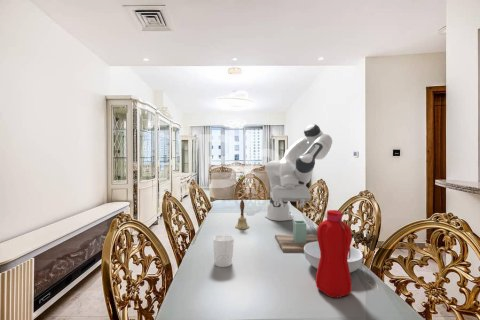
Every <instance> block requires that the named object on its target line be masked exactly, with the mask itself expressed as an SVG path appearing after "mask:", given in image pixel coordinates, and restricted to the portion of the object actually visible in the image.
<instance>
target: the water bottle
mask: <svg viewBox="0 0 480 320" xmlns="http://www.w3.org/2000/svg"><path fill="white" fill-rule="evenodd" d="M342 218H343V213H342V211H341V210H337V209H328V210H327V211H326V219H325V220H324V221H321V222H320V223H319V225H318V226H317V229H316V237H317V239H318V243H319V248H320V261H319V265H318V269H317V268H316V269H317V270H316V274H315V275H316V276H315V286H316V287H317V289H318V290H319V291H321V292H322V293H323V294H325V295H327V296H328V297H330V298H341V297H343V296H348V295H350V293H351V292H352V276H351V273H350V271H349V266H348V261H347V259H349V258H350V246H352V240H353V236H352V235H353V234H352V230H351V227H350V226H349V225H348V224H347V223H346V222H344V221H343V219H342ZM348 253H349V258H348Z"/></svg>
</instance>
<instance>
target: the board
mask: <svg viewBox="0 0 480 320" xmlns="http://www.w3.org/2000/svg"><path fill="white" fill-rule="evenodd" d="M274 238H275V241H276V243H277V244H278V246H279V247H280V250H281V251H282V253H295V252H296V253H301V252H302V253H304V246H305V245H306V244H308V243H311V242H316V241H318V239H317V236H316V235H315V234H306V243H295V241H294V240H293V234H274Z"/></svg>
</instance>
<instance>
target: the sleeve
mask: <svg viewBox="0 0 480 320" xmlns="http://www.w3.org/2000/svg"><path fill="white" fill-rule="evenodd" d="M292 235H293V240H294V241H295V243H306V235H307V223H306V222H305V221H304V220H292Z"/></svg>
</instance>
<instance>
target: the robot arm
mask: <svg viewBox="0 0 480 320" xmlns="http://www.w3.org/2000/svg"><path fill="white" fill-rule="evenodd" d="M303 134H304V136H305V137H301V138H299V139H298V140H296V141H295V142H293V144H292V145H291V146H289V147H288V148H287V150H285V151H284V153H283V154H284V155H283V157H282V158H281V159H279V160H275V159H274V160H270V161H268V162H267V163H266V164H265V165H264V170H265V172H266V174H267V177H268V180H269V186H270V188H269V189H270V197H269V204H268V205H267V210H266V212H267V213H266V215H265V216H264V218H265V219H268V220H271V221H280V222H282V221H294V218H293V217H294V216H293V213H291V210H290V205H289V202H301V203H299V208H301V209H302V208H303V209H304V207H305V206H304V204H305V202H309V201H310V200H311V198H312V195H311V192H310V190H309V187H308V186H307V184H308V183H310V182H311V179H312V175H313V171H314V168H315V165H316V164H315V163H316V160H323V159H324V158H325V157H326V156H327V154H328V153H329V152H330V149H331V147H332V145H333V139H332V137H331V135H329V134H326V133H323V131H322V130H321V128H320V126H319V125H317V124H313V123H312V124H309V125H308V126H307V127H305V128H304V131H303Z"/></svg>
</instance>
